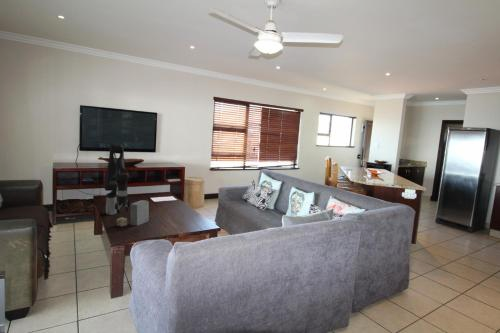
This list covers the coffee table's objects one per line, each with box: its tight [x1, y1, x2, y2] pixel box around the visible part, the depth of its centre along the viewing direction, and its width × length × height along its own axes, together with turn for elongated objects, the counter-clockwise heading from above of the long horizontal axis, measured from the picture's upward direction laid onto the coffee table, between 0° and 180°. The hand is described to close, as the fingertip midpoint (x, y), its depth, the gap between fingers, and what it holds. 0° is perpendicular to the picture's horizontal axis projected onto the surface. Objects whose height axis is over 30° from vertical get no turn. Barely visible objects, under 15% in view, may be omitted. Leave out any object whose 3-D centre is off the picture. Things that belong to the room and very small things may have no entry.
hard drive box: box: [130, 199, 150, 227], centre depth 267 cm, size 16×8×20 cm, turn 158°
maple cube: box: [116, 216, 128, 227], centre depth 260 cm, size 6×6×6 cm
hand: (122, 212), depth 258 cm, fingers open, 8 cm apart
